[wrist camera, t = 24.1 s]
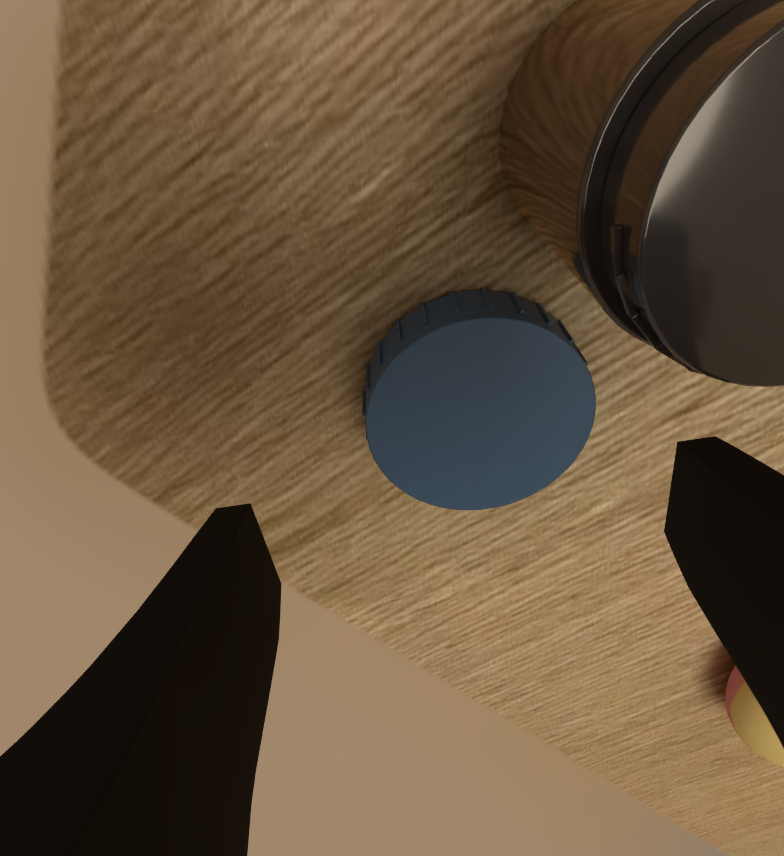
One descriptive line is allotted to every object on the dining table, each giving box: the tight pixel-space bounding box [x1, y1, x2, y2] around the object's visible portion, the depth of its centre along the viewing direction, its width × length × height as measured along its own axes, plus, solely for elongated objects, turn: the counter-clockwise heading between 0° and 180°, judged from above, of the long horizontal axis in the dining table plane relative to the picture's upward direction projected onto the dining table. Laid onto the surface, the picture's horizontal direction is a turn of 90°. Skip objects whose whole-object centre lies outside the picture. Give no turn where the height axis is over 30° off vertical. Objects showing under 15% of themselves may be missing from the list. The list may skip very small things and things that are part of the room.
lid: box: [363, 288, 596, 510], centre depth 16 cm, size 6×6×2 cm
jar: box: [500, 0, 784, 387], centre depth 10 cm, size 5×5×8 cm
